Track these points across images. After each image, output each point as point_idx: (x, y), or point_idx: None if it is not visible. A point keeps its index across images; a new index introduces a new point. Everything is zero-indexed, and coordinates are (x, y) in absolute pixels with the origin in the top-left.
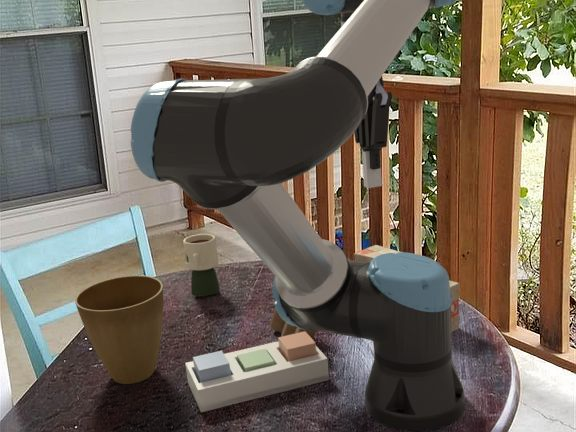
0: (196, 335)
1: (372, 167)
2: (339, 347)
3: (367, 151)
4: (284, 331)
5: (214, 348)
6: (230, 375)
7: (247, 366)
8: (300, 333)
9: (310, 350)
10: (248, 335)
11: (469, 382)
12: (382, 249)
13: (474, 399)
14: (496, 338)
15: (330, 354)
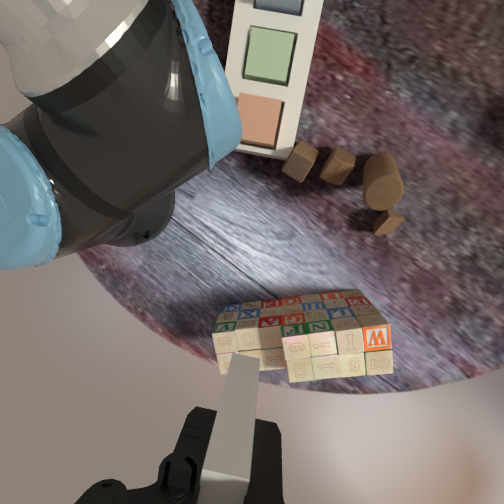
0: (458, 52)
1: (193, 413)
2: (280, 205)
3: (201, 474)
4: (336, 148)
5: (397, 59)
6: (256, 5)
7: (253, 31)
8: (271, 135)
9: None
10: (397, 122)
11: (131, 266)
12: (365, 366)
13: (103, 247)
14: (187, 350)
15: (272, 185)
